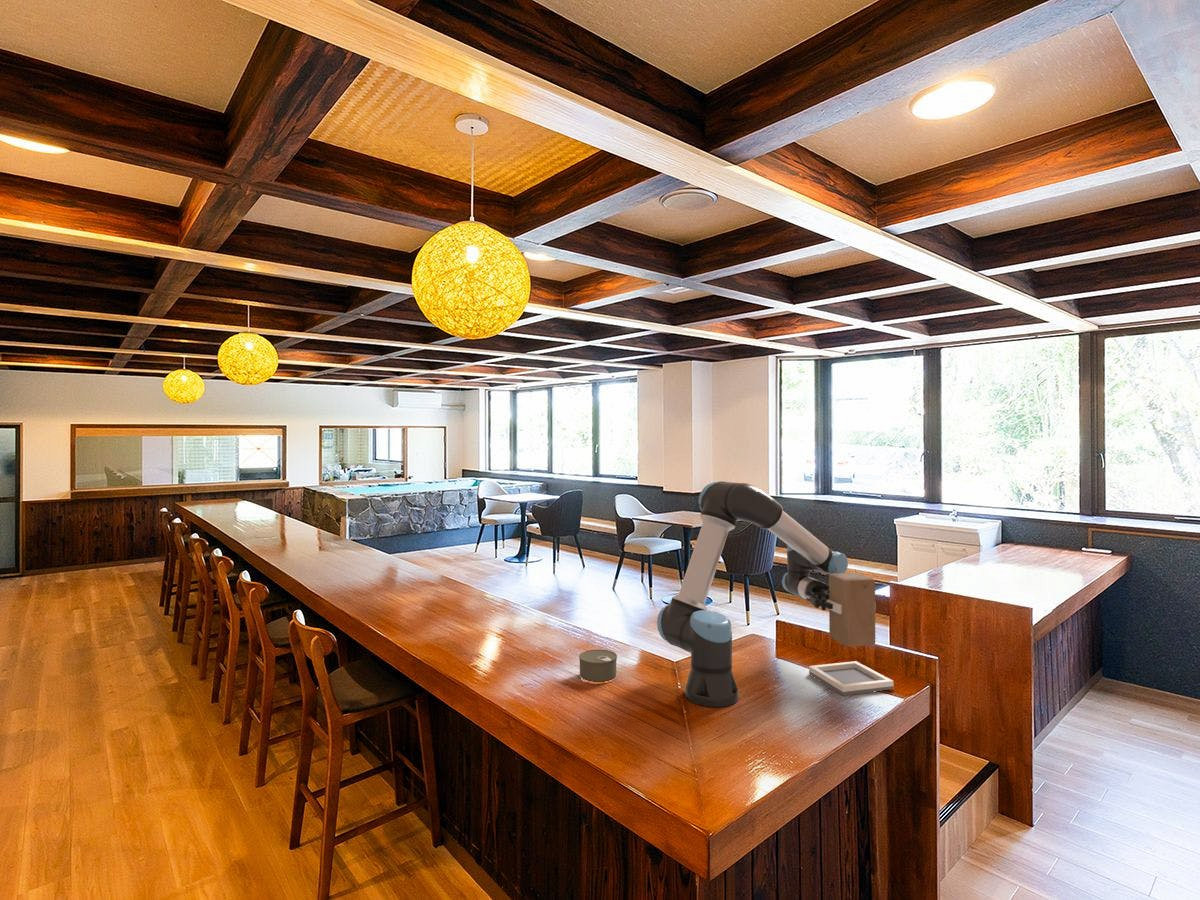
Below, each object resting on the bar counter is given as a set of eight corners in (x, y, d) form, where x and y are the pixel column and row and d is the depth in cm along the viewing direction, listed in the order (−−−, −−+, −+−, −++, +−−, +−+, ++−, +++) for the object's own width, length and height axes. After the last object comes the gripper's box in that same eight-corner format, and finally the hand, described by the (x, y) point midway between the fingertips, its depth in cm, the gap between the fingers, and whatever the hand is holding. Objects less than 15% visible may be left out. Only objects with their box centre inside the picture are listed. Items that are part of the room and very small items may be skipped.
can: (599, 667, 196) (599, 646, 196) (625, 677, 187) (624, 656, 187) (571, 677, 188) (571, 655, 188) (596, 688, 179) (596, 665, 179)
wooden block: (876, 646, 176) (876, 578, 176) (844, 647, 175) (844, 580, 175) (858, 635, 186) (858, 571, 186) (828, 637, 185) (827, 572, 185)
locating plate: (842, 696, 171) (842, 686, 171) (809, 674, 188) (809, 666, 188) (893, 690, 175) (893, 680, 175) (856, 669, 192) (855, 661, 192)
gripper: (845, 599, 202) (891, 617, 180) (783, 604, 196) (823, 623, 175) (845, 577, 202) (891, 592, 180) (783, 582, 196) (823, 598, 175)
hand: (857, 607), depth 177 cm, fingers closed on wooden block, 11 cm apart
